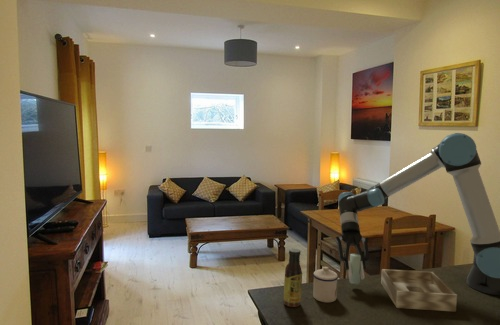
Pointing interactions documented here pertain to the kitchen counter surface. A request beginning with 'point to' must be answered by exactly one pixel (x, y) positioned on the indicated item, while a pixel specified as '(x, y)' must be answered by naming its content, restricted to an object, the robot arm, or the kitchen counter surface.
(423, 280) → the box
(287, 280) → the sauce bottle
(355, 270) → the peg
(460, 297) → the kitchen counter surface
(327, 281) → the teacup with lid
